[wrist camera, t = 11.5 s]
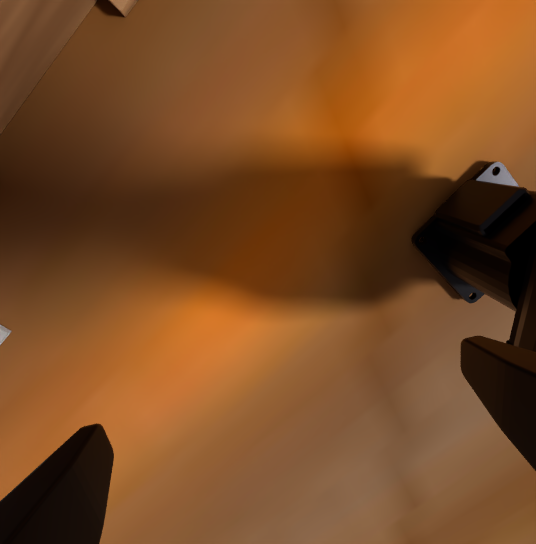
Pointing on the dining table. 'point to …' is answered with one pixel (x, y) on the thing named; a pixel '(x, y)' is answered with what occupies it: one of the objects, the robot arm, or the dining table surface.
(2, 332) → the felt mat
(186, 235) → the dining table surface
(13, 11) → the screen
